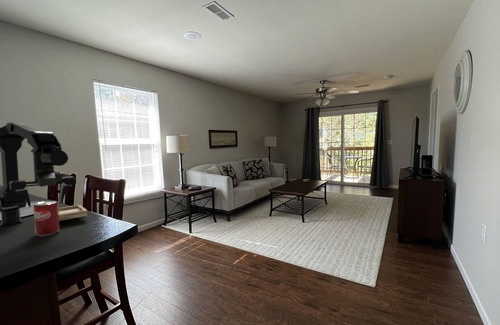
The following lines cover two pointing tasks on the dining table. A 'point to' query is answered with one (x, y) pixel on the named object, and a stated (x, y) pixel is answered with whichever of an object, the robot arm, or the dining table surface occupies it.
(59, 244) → the dining table surface
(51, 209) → the soda can
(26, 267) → the dining table surface
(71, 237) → the dining table surface
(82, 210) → the dolly
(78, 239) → the dining table surface
